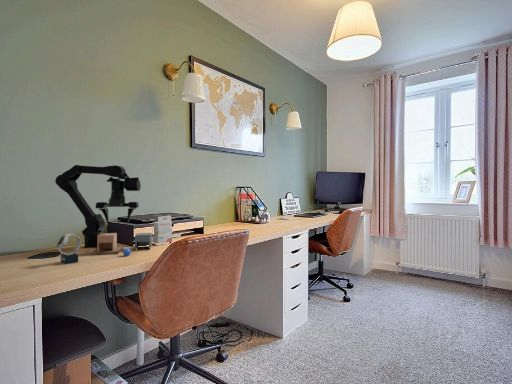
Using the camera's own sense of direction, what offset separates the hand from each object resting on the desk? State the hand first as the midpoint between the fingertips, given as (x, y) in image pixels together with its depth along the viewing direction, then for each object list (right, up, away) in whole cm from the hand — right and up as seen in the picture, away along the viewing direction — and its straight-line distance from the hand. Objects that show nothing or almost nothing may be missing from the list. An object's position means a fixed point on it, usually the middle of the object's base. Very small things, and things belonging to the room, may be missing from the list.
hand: (117, 222), depth 143 cm
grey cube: (+15, -12, -4) cm, 19 cm away
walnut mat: (+1, -12, -12) cm, 17 cm away
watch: (-5, -13, -30) cm, 33 cm away
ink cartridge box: (+20, -12, +7) cm, 24 cm away
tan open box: (+1, -11, -12) cm, 16 cm away
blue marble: (+13, -11, -19) cm, 26 cm away
